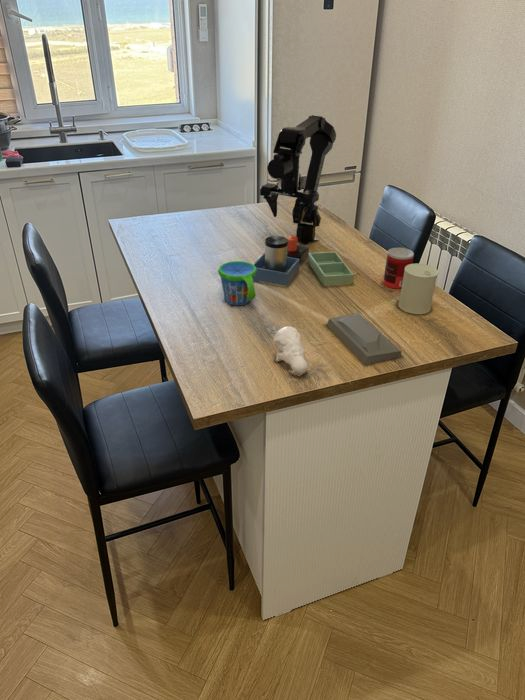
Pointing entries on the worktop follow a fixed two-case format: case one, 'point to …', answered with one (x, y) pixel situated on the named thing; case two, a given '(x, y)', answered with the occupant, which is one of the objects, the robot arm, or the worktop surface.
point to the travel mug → (276, 253)
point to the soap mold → (363, 339)
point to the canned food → (396, 267)
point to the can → (417, 288)
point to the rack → (330, 268)
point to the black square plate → (299, 253)
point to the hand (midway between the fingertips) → (287, 219)
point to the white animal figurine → (291, 349)
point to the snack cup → (238, 282)
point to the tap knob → (292, 243)
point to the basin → (276, 276)
